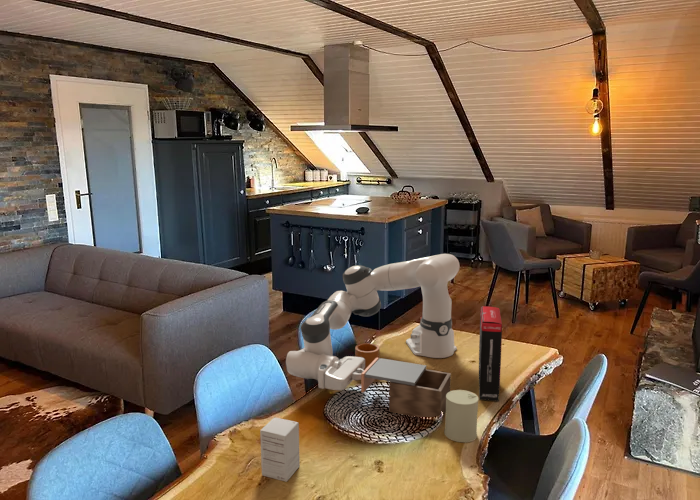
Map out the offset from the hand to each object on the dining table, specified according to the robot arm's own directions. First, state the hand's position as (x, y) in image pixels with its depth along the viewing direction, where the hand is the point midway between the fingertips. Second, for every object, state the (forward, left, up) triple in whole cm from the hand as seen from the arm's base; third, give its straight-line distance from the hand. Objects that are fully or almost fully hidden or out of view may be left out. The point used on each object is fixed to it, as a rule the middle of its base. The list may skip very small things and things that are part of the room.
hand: (368, 376), depth 177 cm
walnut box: (+11, +13, -8) cm, 19 cm away
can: (+29, +17, -8) cm, 35 cm away
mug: (-22, +9, -8) cm, 25 cm away
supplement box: (+30, -36, -8) cm, 48 cm away
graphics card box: (+8, +40, -8) cm, 42 cm away
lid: (+5, +7, -3) cm, 9 cm away
